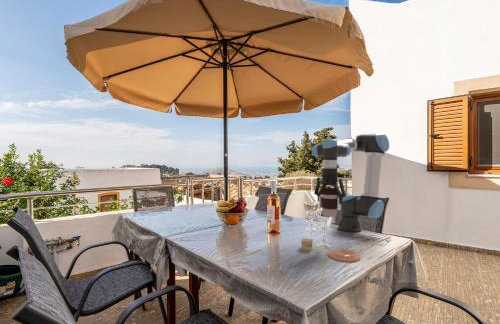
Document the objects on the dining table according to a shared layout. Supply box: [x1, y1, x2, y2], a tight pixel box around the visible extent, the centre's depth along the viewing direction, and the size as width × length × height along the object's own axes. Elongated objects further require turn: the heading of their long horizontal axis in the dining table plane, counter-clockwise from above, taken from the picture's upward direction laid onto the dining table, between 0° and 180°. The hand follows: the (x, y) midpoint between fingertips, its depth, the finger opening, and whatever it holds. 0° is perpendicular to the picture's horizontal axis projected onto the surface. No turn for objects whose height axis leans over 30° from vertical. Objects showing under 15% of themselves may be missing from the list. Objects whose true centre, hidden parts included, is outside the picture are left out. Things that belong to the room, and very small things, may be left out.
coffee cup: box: [320, 187, 339, 218], centre depth 150 cm, size 10×10×15 cm
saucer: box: [327, 248, 362, 263], centre depth 135 cm, size 15×15×1 cm
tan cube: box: [300, 237, 313, 252], centre depth 145 cm, size 5×5×5 cm
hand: (329, 208), depth 150 cm, fingers closed on coffee cup, 10 cm apart
